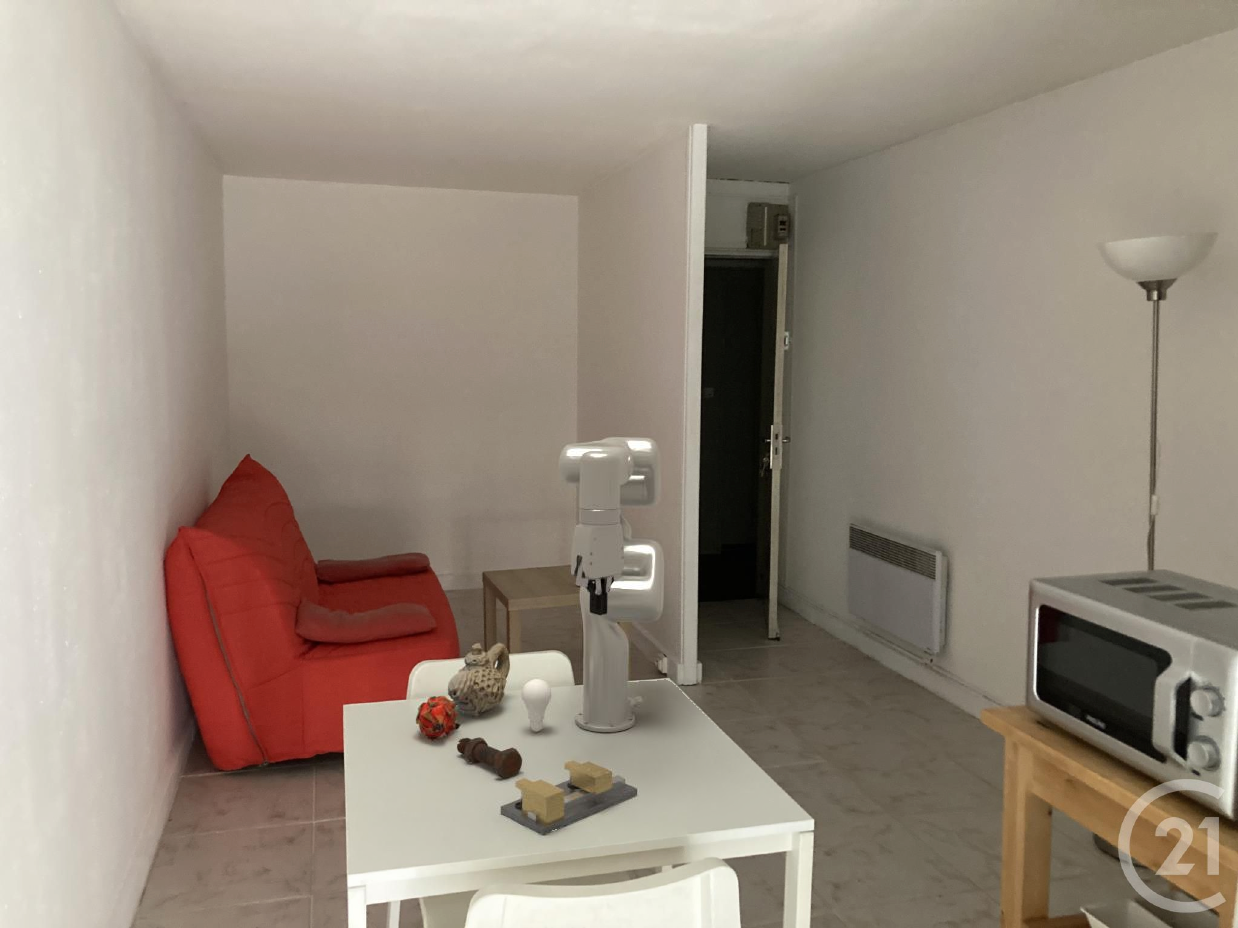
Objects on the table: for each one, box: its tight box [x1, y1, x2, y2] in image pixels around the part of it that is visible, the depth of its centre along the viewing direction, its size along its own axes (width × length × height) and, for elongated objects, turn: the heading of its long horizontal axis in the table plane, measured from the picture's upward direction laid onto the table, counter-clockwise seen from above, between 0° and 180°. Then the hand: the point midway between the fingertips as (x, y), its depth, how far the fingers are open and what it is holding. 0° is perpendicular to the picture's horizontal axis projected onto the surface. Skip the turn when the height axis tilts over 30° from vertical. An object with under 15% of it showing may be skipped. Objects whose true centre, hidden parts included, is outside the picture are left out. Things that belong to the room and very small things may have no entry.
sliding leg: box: [563, 760, 613, 795], centre depth 178 cm, size 4×9×4 cm, turn 45°
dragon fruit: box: [415, 695, 462, 742], centre depth 207 cm, size 8×8×12 cm
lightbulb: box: [521, 678, 552, 733], centre depth 209 cm, size 6×6×11 cm
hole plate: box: [500, 775, 638, 836], centre depth 176 cm, size 22×11×6 cm, turn 135°
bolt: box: [456, 737, 523, 780], centre depth 192 cm, size 6×5×15 cm
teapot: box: [447, 642, 511, 717], centre depth 221 cm, size 21×12×15 cm, turn 155°
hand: (598, 613), depth 192 cm, fingers closed
